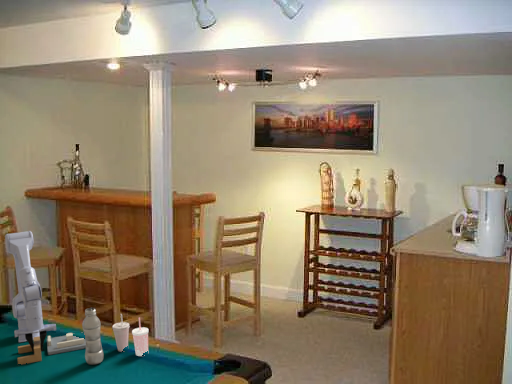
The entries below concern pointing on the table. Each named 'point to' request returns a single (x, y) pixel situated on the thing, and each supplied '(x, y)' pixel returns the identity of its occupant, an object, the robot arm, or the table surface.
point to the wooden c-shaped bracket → (28, 348)
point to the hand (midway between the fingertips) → (37, 351)
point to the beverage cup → (140, 339)
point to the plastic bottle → (92, 337)
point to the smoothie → (121, 334)
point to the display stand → (65, 344)
